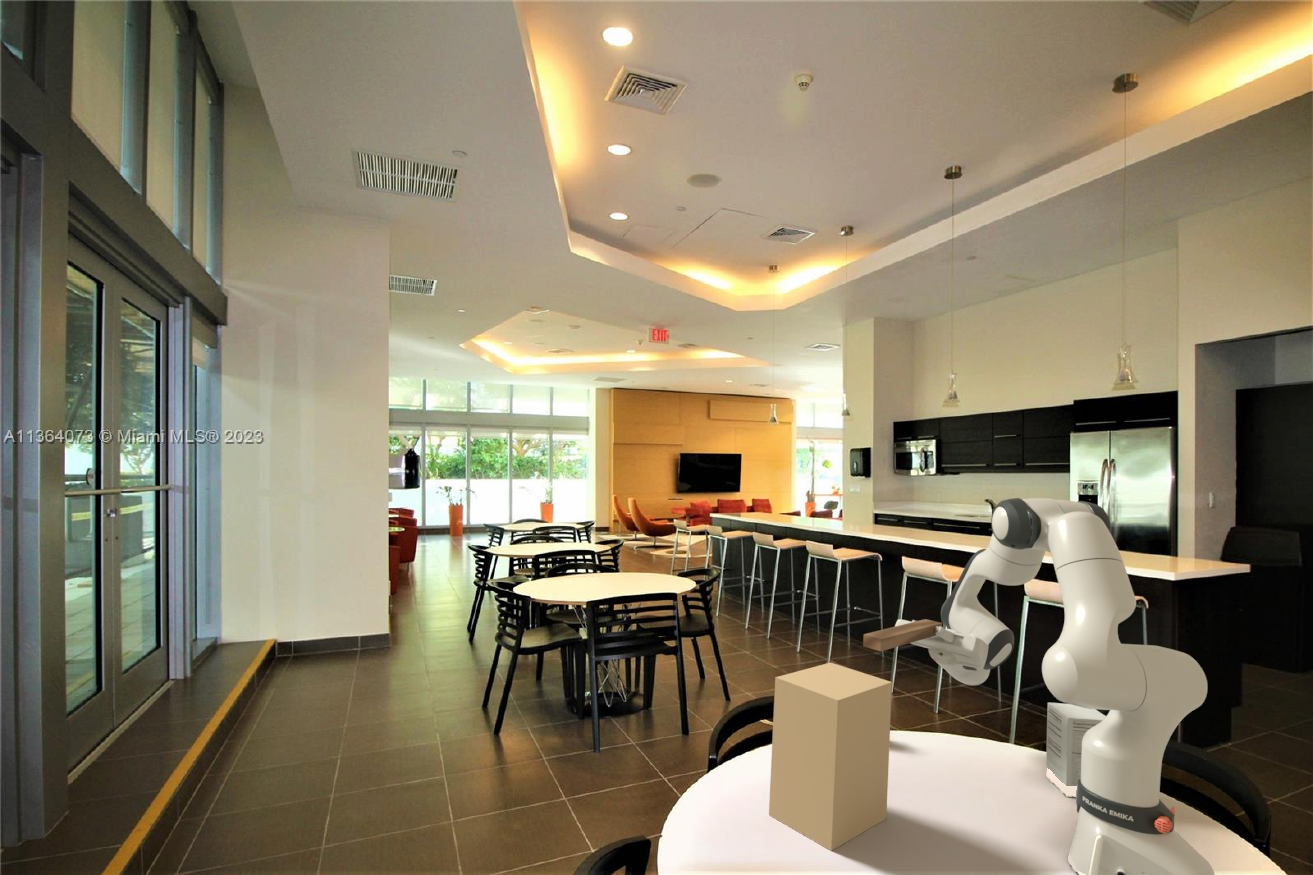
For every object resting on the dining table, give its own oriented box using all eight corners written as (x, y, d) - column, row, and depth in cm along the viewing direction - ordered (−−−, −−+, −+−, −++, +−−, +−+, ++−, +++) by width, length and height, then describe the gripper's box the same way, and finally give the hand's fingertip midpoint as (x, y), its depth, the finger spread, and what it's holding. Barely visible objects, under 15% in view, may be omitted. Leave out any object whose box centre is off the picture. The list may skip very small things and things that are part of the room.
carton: (886, 818, 126) (892, 682, 127) (831, 851, 114) (837, 700, 115) (825, 788, 137) (831, 662, 138) (768, 814, 125) (775, 677, 126)
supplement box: (1088, 780, 147) (1091, 704, 147) (1113, 802, 138) (1115, 720, 138) (1043, 776, 148) (1046, 700, 148) (1065, 797, 139) (1067, 716, 139)
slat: (941, 634, 150) (942, 623, 150) (880, 651, 134) (881, 639, 134) (924, 629, 153) (925, 619, 153) (863, 646, 137) (863, 634, 137)
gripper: (911, 626, 166) (888, 604, 158) (996, 647, 150) (974, 623, 143) (904, 650, 164) (880, 628, 156) (989, 673, 148) (966, 651, 141)
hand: (925, 626), depth 149 cm, fingers closed on slat, 4 cm apart
